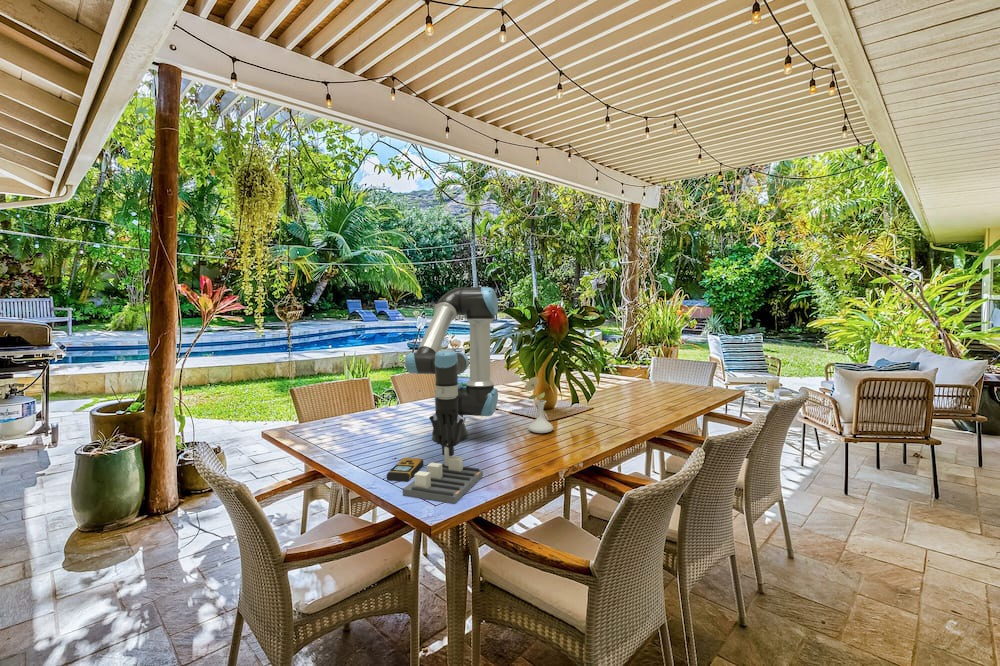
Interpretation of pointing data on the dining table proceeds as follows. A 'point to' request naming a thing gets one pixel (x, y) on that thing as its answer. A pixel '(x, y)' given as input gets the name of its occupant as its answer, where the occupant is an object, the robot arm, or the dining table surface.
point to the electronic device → (405, 469)
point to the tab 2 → (435, 470)
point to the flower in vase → (540, 423)
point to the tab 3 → (455, 463)
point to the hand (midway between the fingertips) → (448, 464)
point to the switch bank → (446, 485)
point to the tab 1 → (423, 479)
